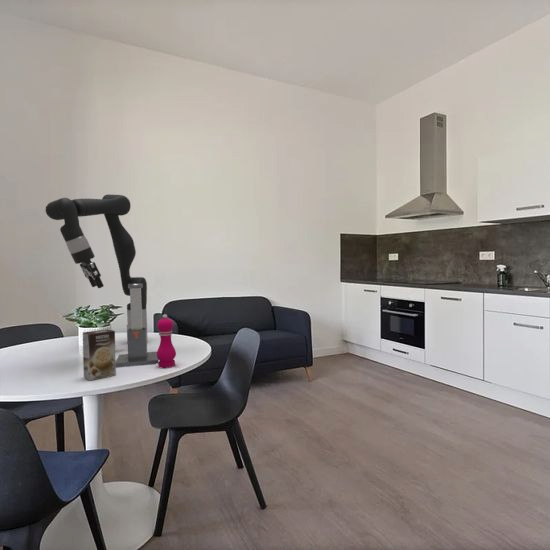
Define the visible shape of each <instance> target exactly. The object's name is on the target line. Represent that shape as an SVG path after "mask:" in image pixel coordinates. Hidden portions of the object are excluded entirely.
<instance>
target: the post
mask: <svg viewBox="0 0 550 550" xmlns="http://www.w3.org/2000/svg"><path fill="white" fill-rule="evenodd" d="M128 288H130V298H129V300H130V305H131V331H132V330H142V329H143V326H142V303H141V288H143V284H128Z"/></svg>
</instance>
